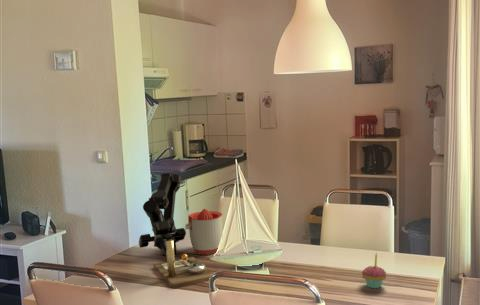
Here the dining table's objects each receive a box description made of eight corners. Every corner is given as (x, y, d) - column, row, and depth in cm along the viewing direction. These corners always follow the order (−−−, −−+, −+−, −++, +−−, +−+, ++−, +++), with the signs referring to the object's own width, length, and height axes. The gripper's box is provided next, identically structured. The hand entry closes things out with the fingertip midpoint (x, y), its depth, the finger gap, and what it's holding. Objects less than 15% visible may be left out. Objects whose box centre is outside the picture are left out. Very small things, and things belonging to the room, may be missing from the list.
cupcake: (368, 279, 181) (367, 248, 179) (390, 284, 175) (390, 252, 174) (358, 287, 174) (357, 255, 173) (380, 293, 169) (380, 259, 167)
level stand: (154, 267, 205) (153, 264, 205) (192, 259, 212) (192, 256, 212) (173, 288, 182) (173, 284, 181) (216, 278, 189) (216, 274, 189)
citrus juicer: (183, 248, 228) (180, 207, 226) (219, 243, 233) (216, 203, 231) (190, 259, 213) (187, 215, 211) (228, 253, 218) (225, 210, 216)
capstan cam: (157, 265, 203) (155, 232, 201) (191, 258, 209) (189, 226, 208) (171, 279, 186) (169, 244, 184) (207, 271, 193) (205, 237, 191)
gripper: (138, 215, 191) (147, 250, 183) (183, 208, 199) (194, 241, 191) (135, 230, 199) (143, 264, 191) (178, 223, 207) (188, 255, 199)
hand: (167, 255), depth 193 cm, fingers closed
